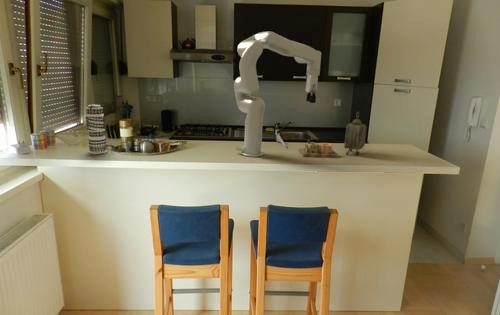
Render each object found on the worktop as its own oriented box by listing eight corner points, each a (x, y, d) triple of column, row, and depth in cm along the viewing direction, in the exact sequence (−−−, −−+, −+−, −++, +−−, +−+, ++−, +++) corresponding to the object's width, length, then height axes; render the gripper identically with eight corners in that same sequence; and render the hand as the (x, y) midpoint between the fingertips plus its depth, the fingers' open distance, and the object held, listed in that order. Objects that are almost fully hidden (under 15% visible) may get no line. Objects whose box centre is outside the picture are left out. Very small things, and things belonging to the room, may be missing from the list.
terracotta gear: (320, 153, 185) (321, 145, 184) (317, 150, 192) (317, 142, 191) (333, 153, 186) (334, 145, 184) (329, 150, 193) (330, 143, 192)
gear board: (303, 156, 182) (304, 142, 180) (298, 151, 195) (299, 137, 193) (338, 157, 183) (340, 142, 181) (331, 151, 196) (333, 138, 194)
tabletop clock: (348, 150, 201) (353, 109, 195) (363, 152, 197) (369, 111, 191) (343, 155, 189) (347, 111, 183) (359, 157, 185) (364, 113, 179)
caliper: (276, 142, 221) (276, 132, 219) (278, 142, 221) (278, 132, 220) (285, 148, 201) (286, 138, 200) (287, 148, 202) (287, 138, 200)
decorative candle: (89, 154, 170) (85, 105, 164) (87, 150, 178) (83, 104, 171) (108, 153, 175) (105, 105, 168) (106, 149, 182) (102, 103, 176)
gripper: (303, 72, 201) (301, 100, 206) (310, 72, 185) (307, 103, 189) (315, 72, 202) (313, 101, 206) (323, 72, 185) (320, 103, 189)
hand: (310, 102), depth 198 cm, fingers open, 9 cm apart
